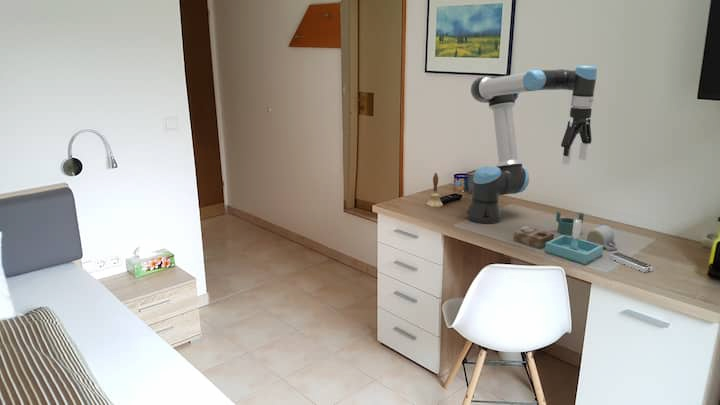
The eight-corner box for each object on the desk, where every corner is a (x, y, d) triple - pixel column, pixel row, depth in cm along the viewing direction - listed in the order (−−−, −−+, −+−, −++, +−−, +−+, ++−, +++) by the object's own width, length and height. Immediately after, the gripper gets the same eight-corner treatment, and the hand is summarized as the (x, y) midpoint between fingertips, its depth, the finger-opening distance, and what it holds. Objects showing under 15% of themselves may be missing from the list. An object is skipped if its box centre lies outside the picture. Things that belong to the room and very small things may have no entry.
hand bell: (440, 207, 260) (442, 176, 256) (423, 205, 264) (425, 174, 259) (445, 203, 268) (446, 172, 263) (429, 201, 271) (430, 170, 267)
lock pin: (568, 252, 205) (572, 220, 201) (571, 250, 207) (575, 218, 203) (575, 254, 203) (579, 221, 199) (578, 252, 205) (583, 220, 201)
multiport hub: (616, 257, 203) (617, 252, 203) (651, 271, 191) (653, 265, 190) (608, 259, 201) (609, 253, 201) (643, 274, 189) (644, 268, 188)
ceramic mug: (584, 244, 215) (587, 226, 213) (595, 240, 220) (598, 222, 218) (609, 253, 207) (613, 234, 205) (620, 248, 212) (623, 230, 210)
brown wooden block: (513, 240, 218) (514, 229, 217) (526, 235, 225) (527, 224, 223) (540, 249, 210) (541, 237, 208) (553, 243, 216) (554, 231, 215)
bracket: (582, 233, 228) (585, 213, 226) (568, 236, 224) (571, 216, 221) (565, 227, 236) (568, 207, 233) (551, 230, 231) (553, 210, 229)
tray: (544, 252, 206) (545, 242, 205) (562, 244, 215) (563, 234, 214) (585, 264, 195) (586, 254, 194) (602, 255, 204) (603, 245, 203)
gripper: (575, 110, 194) (567, 167, 200) (605, 106, 210) (597, 159, 216) (555, 108, 199) (549, 164, 205) (586, 104, 215) (579, 156, 221)
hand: (574, 161), depth 211 cm, fingers open, 13 cm apart
